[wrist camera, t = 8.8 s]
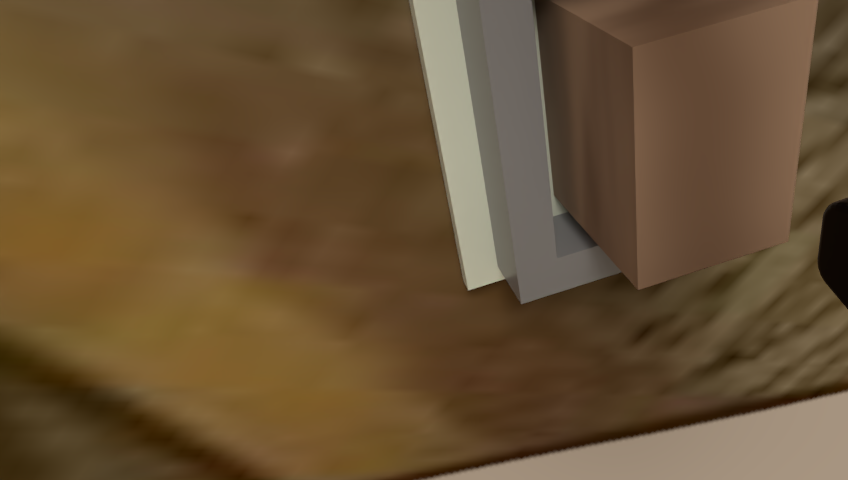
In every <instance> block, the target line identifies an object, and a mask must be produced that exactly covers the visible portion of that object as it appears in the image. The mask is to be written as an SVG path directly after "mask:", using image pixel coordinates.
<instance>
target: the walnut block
mask: <svg viewBox="0 0 848 480" xmlns="http://www.w3.org/2000/svg"><path fill="white" fill-rule="evenodd" d="M817 7H818V0H535V10H536V20H537V30H538V40H539V50H540V60H541V71H542V81H543V91H544V101H545V111H546V121H547V131H548V142H549V152H550V162H551V172H552V182H553V192H554V196H555V197H556V198H557V199H558V200H559V202H560V203H561V204H562V205H563V206H564V207H565V208H566V209H567V211H568V212H569V213H570V214H571V215H572V216H573V217H574V218H575V220H576V221H577V222H578V223H579V224H580V225H581V226H582V228H583V229H584V230H585V231H586V232H587V233H588V234H589V235H590V237H591V238H592V239H593V240H594V241H595V242H596V243H597V244H598V246H599V247H600V248H601V249H602V250H603V251H604V252H605V253H606V255H607V256H608V257H609V258H610V259H611V260H612V261H613V263H614V264H615V265H616V266H617V267H618V268H619V269H620V270H621V272H622V273H623V274H624V275H625V276H626V277H627V278H628V279H629V281H630V282H631V283H632V284H633V285H634V286H635V287H636V288H637V290H640V289H643V288H646V287H649V286H652V285H655V284H659V283H662V282H665V281H668V280H671V279H674V278H677V277H680V276H683V275H686V274H689V273H692V272H695V271H698V270H702V269H705V268H708V267H711V266H714V265H717V264H720V263H723V262H726V261H729V260H732V259H735V258H738V257H742V256H745V255H748V254H751V253H754V252H757V251H760V250H763V249H766V248H769V247H772V246H775V245H778V244H781V243H785V242H788V240H789V232H790V224H791V216H792V208H793V200H794V191H795V183H796V175H797V167H798V159H799V151H800V143H801V135H802V127H803V119H804V111H805V103H806V95H807V87H808V79H809V71H810V63H811V55H812V47H813V39H814V31H815V23H816V15H817Z"/></svg>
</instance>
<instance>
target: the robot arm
mask: <svg viewBox="0 0 848 480" xmlns="http://www.w3.org/2000/svg"><path fill="white" fill-rule="evenodd" d="M818 268H819V271H820V274H821V276H822V278H823V280H824V281H825V283H826V284H827V285H828V286H829V287H830V289H831V290H832V291H833V292H834V293H835V295H836V296H837V297H838V298H839V299H840V301H841V302H842V303H843V304H844V305H845V306H846V308H847V309H848V198H845V199H842V200H839V201H837V202H834V203H832V204H830V205H829V206H828V207H827V209H826V210H825V212H824V215H823V220H822V228H821V237H820V245H819V253H818Z"/></svg>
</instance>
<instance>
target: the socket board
mask: <svg viewBox="0 0 848 480" xmlns="http://www.w3.org/2000/svg"><path fill="white" fill-rule="evenodd" d="M409 4H410V9H411V14H412V19H413V24H414V29H415V35H416V40H417V45H418V50H419V55H420V60H421V65H422V71H423V76H424V81H425V86H426V91H427V96H428V101H429V107H430V112H431V117H432V122H433V127H434V132H435V137H436V142H437V148H438V153H439V158H440V163H441V168H442V173H443V178H444V184H445V189H446V194H447V199H448V204H449V209H450V214H451V220H452V225H453V230H454V235H455V240H456V245H457V250H458V256H459V261H460V266H461V271H462V276H463V281H464V283H465V285H466V287H467V289H468V290H471V289H475V288H478V287H481V286H484V285H487V284H491V283H494V282H497V281H500V280H503V279H506V281H507V282H508V284H509V285H510V287H511V289H512V290H513V292H514V293H515V295H516V297H517V298H518V300H519V301H520V303H521V304H524V303H527V302H530V301H533V300H536V299H539V298H542V297H546V296H549V295H552V294H555V293H558V292H561V291H564V290H568V289H571V288H574V287H577V286H580V285H583V284H586V283H590V282H593V281H596V280H599V279H602V278H605V277H608V276H611V275H615V274H618V273H621V270H620V269H619V268H618V267H617V266H616V265H615V264H614V263H613V261H612V260H611V259H610V258H609V257H608V256H607V255H606V253H605V252H604V251H603V250H602V249H601V248H600V247H599V246H598V244H597V243H596V242H595V241H594V240H593V239H592V238H591V237H590V235H589V234H588V233H587V232H586V231H585V230H584V229H583V228H582V226H581V225H580V224H579V223H578V222H577V221H576V220H575V218H574V217H573V216H572V215H571V214H570V213H569V212H568V211H567V209H566V208H565V207H564V206H563V205H562V204H561V203H560V202H559V200H558V199H557V198H556V197H555V196H554V192H553V182H552V172H551V162H550V152H549V142H548V131H547V121H546V111H545V101H544V91H543V81H542V71H541V60H540V50H539V40H538V30H537V20H536V10H535V0H409Z"/></svg>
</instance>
